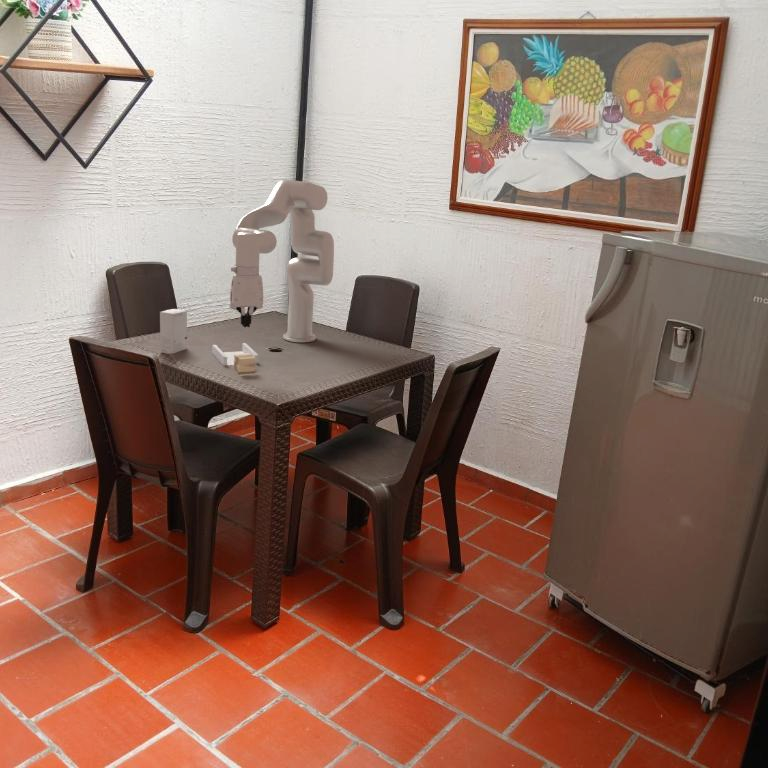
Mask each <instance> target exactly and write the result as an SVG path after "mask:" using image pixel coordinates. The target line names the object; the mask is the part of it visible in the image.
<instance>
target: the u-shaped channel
mask: <svg viewBox="0 0 768 768" xmlns="http://www.w3.org/2000/svg"><path fill="white" fill-rule="evenodd" d="M248 353H250V354H251V355H253V356H254V357H255V365H256V364H259V354H258V353H257V352H256V351H255V350H254V349H252V347H250V345H249V344H248V343H246V342H242V345H241V350H240V351H239V350H238V351H224V352H223V350H222V349H221V348H219V346H218V345H217V344H212V354H213V355H214V357H215V358H216V359H217V360H218V361H219V362H220V363H221V365H222V366H234V354H248Z"/></svg>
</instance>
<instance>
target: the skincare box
mask: <svg viewBox="0 0 768 768" xmlns="http://www.w3.org/2000/svg"><path fill="white" fill-rule="evenodd" d="M187 320H188V310H186V309H181V308H180V309H179V308H171V309H166V310H163V311H159V333H160V335H159V336H160V339H159V340H160V341H159V342H160V343H159V344H160V345H159V346H160V353H161V354H162V353H164V354H167V355H170V356H172V354H176V353H179V352H181V351H184V350H187V349H188V321H187Z"/></svg>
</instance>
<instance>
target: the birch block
mask: <svg viewBox="0 0 768 768" xmlns="http://www.w3.org/2000/svg"><path fill="white" fill-rule="evenodd" d="M233 369H235V370H236V371H237V372H238V373H237V375H239V376H240V375H243V376H244V375H253V374H256V364H255V357H254V356H253V355H251V354H250V353H248V354H234V365H233Z"/></svg>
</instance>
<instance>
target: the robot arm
mask: <svg viewBox="0 0 768 768" xmlns="http://www.w3.org/2000/svg"><path fill="white" fill-rule="evenodd" d="M327 203H328V193H327V190H326V189H325V187H324V186H321V185H319V184H315V183H313V182H312V183H311V182H309V181H302V180H292V179H291V180H290V179H285V180H284V179H282V180H279V181H278V182H277V183H276V185H275V186H274V188H273V189H272V190H271V193H270V194H269V196H268V198H267V200H266V201H265V203H264V205H261V206H260V207H257V208H255V209H253V210H251V211H250V212H248V213H246V214H245V215H244V216H243V217H241V219H240V220H239V222H238V223H237V226H236V227H235V228H234V231H233V233H232V240H231V241H232V244H233V247H234V248H235V264H234V266H233V267H230V272H233V273H234V274H233V275H232V279H231V285H230V294H229V295H230V296H229V300H230V303H229V309H230V310H234V311H238V313H239V314H240V325H241V326H242V327H243V328H250V326H251V324H252V316H253V315H254V313H255V312H256V311H257V310H261V309H263V308H264V306H263V304H264V286H263V276H262V275H260V255H261V254H270V253H272V252H273V251H274V250H275V249H276V246H277V237H276V235H275V233H274V232H272V231H270V230H266V229H264V228H268V227H273V226H277V225H280V224H282V223H284V222H285V221H286V219H287V217H288V215H289V214H290V218H291V248H292V249H291V250H292V251H293V252H294V253H295V254H298V255H304V256H311V257H317V258H318V259H317V258H310V257H304V256H303V257H302V256H301V257H300V256H299V257H293V258H290V260H289V261H288V263H287V266H286V272H287V273H286V274H287V279H288V280H287V281H288V305H287V306H288V308H287V309H288V310H287V331H286V332H285V333H283V335H282V338H283V339H284V340H286V341H287V342H292V343H300V344H301V343H310V342H314V341H315V340H316V338H317V337H316V335H315V334H314V333H313V314H314V298H315V296H314V292H313V289H312V287H311V285H316V286H328V285H330V284H331V283H332V281H333V276H334V262H335V261H334V260H335V259H334V257H335V243H334V242H335V241H334V237H333V236H332V234H331V233H330V232H328V231H324V230H316V228H315V225H316V224H315V217H316V216H315V213H314V211H321V210H323V209H324V208H325V207H326V205H328V204H327ZM246 307H247V308H246ZM245 309H246V310H245Z"/></svg>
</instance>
